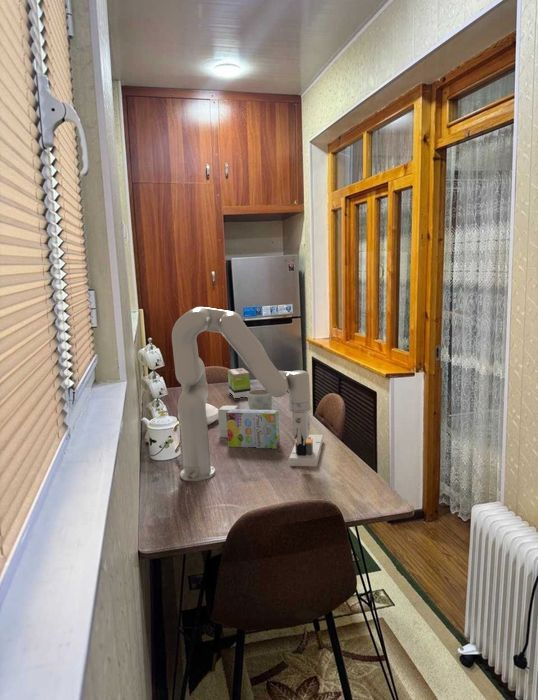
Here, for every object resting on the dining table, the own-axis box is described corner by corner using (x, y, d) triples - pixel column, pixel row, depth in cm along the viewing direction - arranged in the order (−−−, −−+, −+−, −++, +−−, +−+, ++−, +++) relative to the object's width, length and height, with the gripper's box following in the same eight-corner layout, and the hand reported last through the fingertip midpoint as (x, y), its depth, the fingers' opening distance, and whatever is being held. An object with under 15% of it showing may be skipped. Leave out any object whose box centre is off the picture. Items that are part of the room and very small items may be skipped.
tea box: (228, 393, 295) (227, 369, 292) (245, 391, 298) (243, 367, 295) (234, 399, 281) (232, 373, 278) (251, 397, 284) (250, 371, 281)
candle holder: (181, 418, 250) (177, 381, 246) (220, 415, 251) (218, 378, 248) (176, 430, 230) (172, 390, 227) (219, 427, 231) (216, 387, 228)
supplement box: (235, 437, 216) (233, 409, 214) (219, 437, 217) (217, 409, 215) (240, 432, 223) (238, 405, 221) (224, 432, 224) (222, 405, 222)
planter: (276, 413, 248) (275, 392, 246) (253, 417, 243) (252, 396, 242) (267, 408, 259) (266, 387, 258) (245, 411, 255) (244, 391, 253)
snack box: (280, 444, 204) (278, 409, 202) (277, 449, 199) (275, 413, 197) (232, 442, 210) (229, 408, 208) (227, 447, 205) (225, 412, 202)
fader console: (316, 466, 180) (316, 458, 179) (289, 465, 182) (289, 457, 181) (323, 441, 205) (322, 434, 204) (299, 441, 207) (298, 434, 206)
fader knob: (312, 454, 183) (311, 442, 182) (295, 454, 184) (295, 442, 183) (313, 450, 186) (312, 439, 185) (297, 450, 187) (296, 438, 187)
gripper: (307, 411, 167) (310, 463, 170) (312, 399, 182) (314, 447, 184) (286, 411, 169) (288, 462, 171) (292, 400, 183) (294, 447, 186)
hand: (302, 454), depth 178 cm, fingers closed
